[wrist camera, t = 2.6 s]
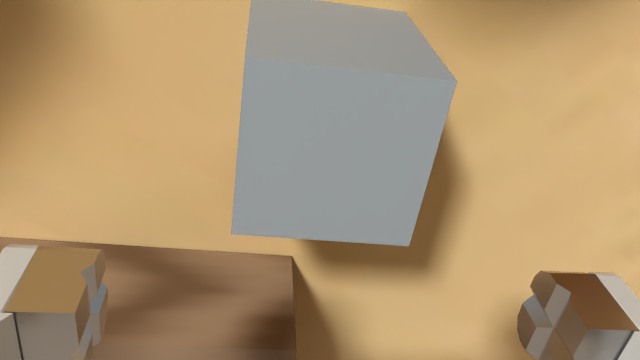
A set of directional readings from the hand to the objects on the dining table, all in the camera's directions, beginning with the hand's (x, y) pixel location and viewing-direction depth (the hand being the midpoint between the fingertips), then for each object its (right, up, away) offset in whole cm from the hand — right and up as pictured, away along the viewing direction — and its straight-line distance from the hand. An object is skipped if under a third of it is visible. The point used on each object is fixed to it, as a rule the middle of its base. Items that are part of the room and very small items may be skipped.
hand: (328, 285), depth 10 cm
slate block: (0, +6, +9) cm, 10 cm away
